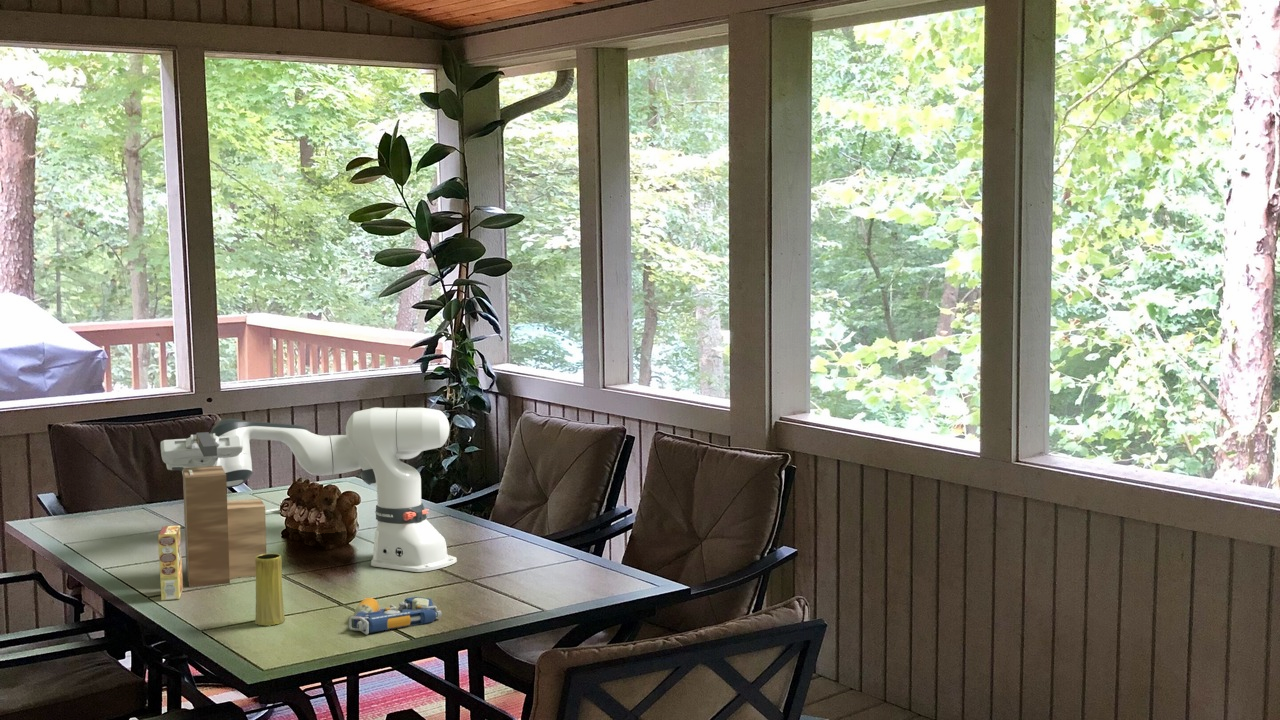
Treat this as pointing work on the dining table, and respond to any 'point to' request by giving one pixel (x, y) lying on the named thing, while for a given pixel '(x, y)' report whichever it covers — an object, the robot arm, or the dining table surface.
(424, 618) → the toy blaster gun
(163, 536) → the candy box
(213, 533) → the stand
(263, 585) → the vase
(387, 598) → the dining table surface
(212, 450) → the bar
